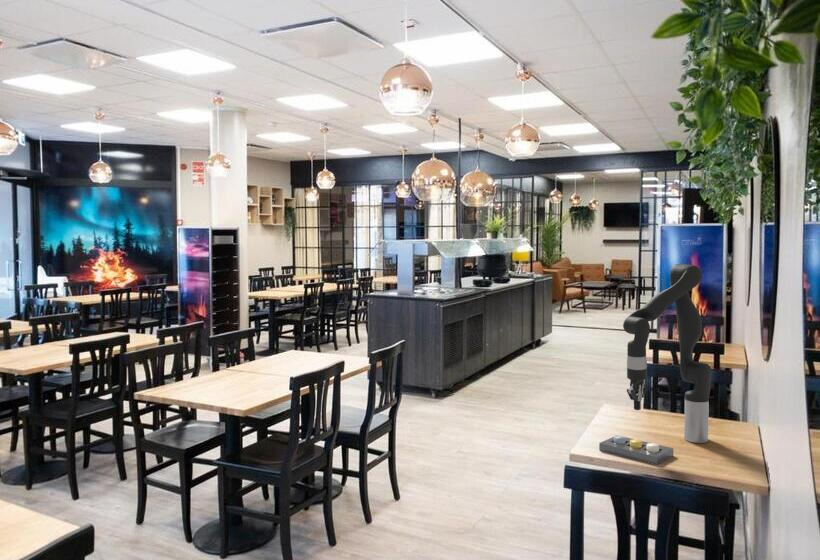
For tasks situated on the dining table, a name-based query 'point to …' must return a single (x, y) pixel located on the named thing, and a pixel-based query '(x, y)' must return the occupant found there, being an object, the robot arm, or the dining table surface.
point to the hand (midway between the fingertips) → (637, 409)
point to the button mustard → (636, 443)
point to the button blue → (619, 440)
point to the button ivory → (652, 447)
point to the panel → (636, 451)
